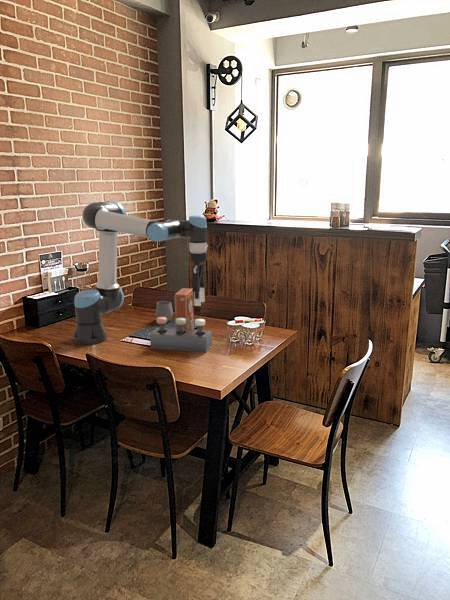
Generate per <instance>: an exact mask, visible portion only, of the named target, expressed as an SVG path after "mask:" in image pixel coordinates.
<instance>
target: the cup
mask: <svg viewBox="0 0 450 600" xmlns="http://www.w3.org/2000/svg"><path fill="white" fill-rule="evenodd" d="M173 315H174V311H173V306H172V302H171V301H169V300H160V301H157V302H156V308H155V317H156V318H158V317H166V318H167V322H169V321H171V320H172V317H173Z"/></svg>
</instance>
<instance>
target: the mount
mask: <svg viewBox="0 0 450 600" xmlns="http://www.w3.org/2000/svg"><path fill="white" fill-rule="evenodd" d="M149 335H150V336H149V339H150V349H151V350H162V351H163V350H164V351H180V352H192V353H194V352H195V353H208V351H209V350H210V348H211V347H212V345H213V344H212V342H213V341H212V330H209V329H207V330H206V329H203V335H198V332H197V329H194V330H192V329H184V334H178V329H176V328H173V327H172V328H170V327H165V333H160V332H159V327H156V328H155V329H154V330H153V331H152V332H151V333H150V334H149Z"/></svg>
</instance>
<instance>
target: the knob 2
mask: <svg viewBox="0 0 450 600" xmlns="http://www.w3.org/2000/svg"><path fill="white" fill-rule="evenodd" d="M205 325H206V319H204V318H196V319H194V326H196V328H197V329H196V330H197V332H198V335H203V330H204V329H203V328H204V327H203V326H205Z"/></svg>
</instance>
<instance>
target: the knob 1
mask: <svg viewBox="0 0 450 600" xmlns="http://www.w3.org/2000/svg"><path fill="white" fill-rule="evenodd" d="M155 319H156V324H158V326H159V327H158V328H159V332H160V333H165V328H166V327H165V324H167V323H168V321H167V318H166V317H158V318H157V317H156V318H155Z"/></svg>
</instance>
